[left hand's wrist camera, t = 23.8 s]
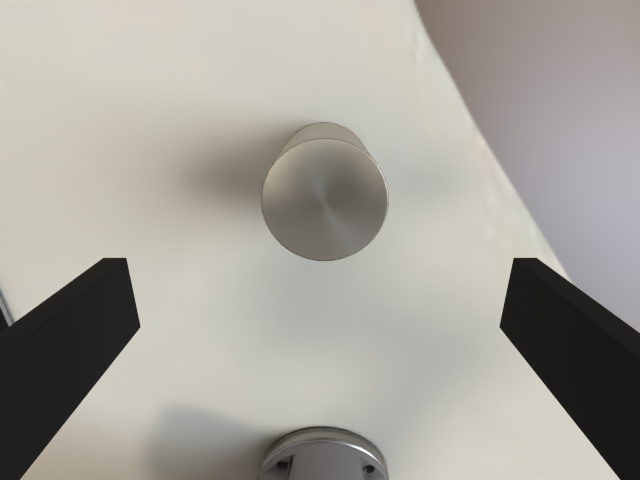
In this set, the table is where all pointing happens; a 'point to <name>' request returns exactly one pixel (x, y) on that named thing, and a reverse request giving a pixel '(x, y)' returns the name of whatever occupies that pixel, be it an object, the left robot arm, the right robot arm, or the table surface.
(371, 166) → the can
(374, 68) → the table surface
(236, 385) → the table surface
